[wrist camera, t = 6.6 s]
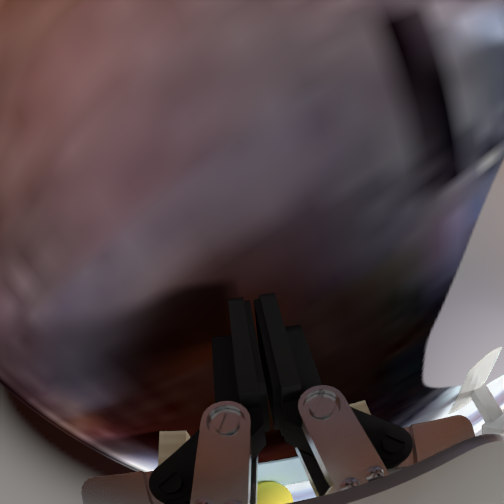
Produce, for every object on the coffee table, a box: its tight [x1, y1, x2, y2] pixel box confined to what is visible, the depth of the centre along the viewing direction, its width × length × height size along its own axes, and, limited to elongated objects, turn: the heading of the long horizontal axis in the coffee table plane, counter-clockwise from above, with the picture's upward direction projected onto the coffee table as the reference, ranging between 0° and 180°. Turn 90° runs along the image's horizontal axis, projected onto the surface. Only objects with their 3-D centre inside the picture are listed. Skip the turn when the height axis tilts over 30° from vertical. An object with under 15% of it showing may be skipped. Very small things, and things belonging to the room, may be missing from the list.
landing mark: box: [257, 456, 309, 485], centre depth 26 cm, size 12×12×1 cm
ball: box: [257, 481, 293, 504], centre depth 25 cm, size 6×6×6 cm
